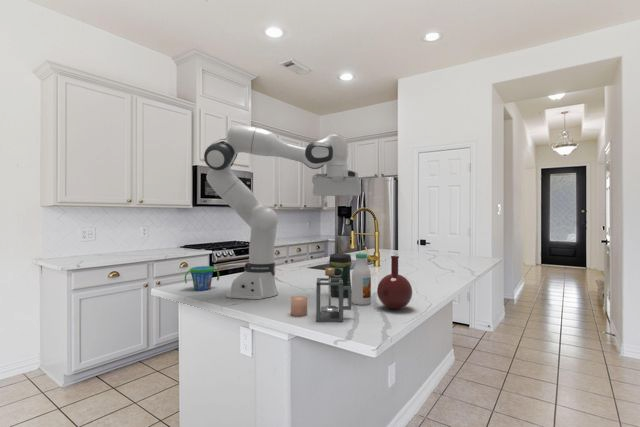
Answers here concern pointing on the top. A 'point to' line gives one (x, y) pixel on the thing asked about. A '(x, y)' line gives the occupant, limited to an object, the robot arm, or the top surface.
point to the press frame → (337, 315)
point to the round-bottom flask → (394, 288)
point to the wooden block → (298, 306)
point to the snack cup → (202, 277)
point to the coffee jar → (340, 272)
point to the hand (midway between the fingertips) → (336, 206)
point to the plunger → (329, 308)
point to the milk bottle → (361, 281)
